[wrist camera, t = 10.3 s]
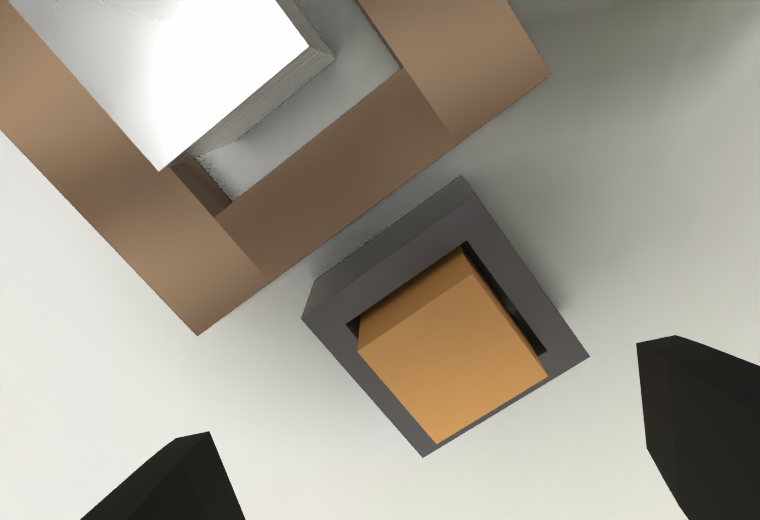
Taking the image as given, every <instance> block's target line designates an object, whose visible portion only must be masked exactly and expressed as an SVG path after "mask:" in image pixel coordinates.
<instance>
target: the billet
mask: <svg viewBox="0 0 760 520" xmlns="http://www.w3.org/2000/svg"><path fill="white" fill-rule="evenodd" d="M8 1H9V2H10V4H11V5H12V6H13V7H14V8H15V9H16V10H17V12H18V13H19V14H20V15H21V16H22V17H23V18H24V19H25V21H26V22H27V23H28V24H29V25H30V26H31V27H32V29H33V30H34V31H35V32H36V33H37V34H38V35H39V36H40V38H41V39H42V40H43V41H44V42H45V43H46V44H47V46H48V47H49V48H50V49H51V50H52V51H53V52H54V53H55V55H56V56H57V57H58V58H59V59H60V60H61V61H62V63H63V64H64V65H65V66H66V67H67V68H68V69H69V70H70V72H71V73H72V74H73V75H74V76H75V77H76V78H77V80H78V81H79V82H80V83H81V84H82V85H83V86H84V87H85V89H86V90H87V91H88V92H89V93H90V94H91V95H92V97H93V98H94V99H95V100H96V101H97V102H98V103H99V105H100V106H101V107H102V108H103V109H104V110H105V111H106V112H107V114H108V115H109V116H110V117H111V118H112V119H113V120H114V122H115V123H116V124H117V125H118V126H119V127H120V128H121V129H122V131H123V132H124V133H125V134H126V135H127V136H128V137H129V139H130V140H131V141H132V142H133V143H134V144H135V145H136V146H137V148H138V149H139V150H140V151H141V152H142V153H143V154H144V156H145V157H146V158H147V159H148V160H149V161H150V162H151V163H152V165H153V166H154V167H155V168H156V169H157V170H158V171H162V170H164V169H167V168H169V167H172V166H174V165H177V164H179V163H182V162H184V161H187V160H189V159H192V158H194V157H197V156H199V155H202V154H204V153H207V152H209V151H212V150H215V149H217V148H220V147H222V146H225V145H227V144H230V143H232V142H235V141H237V140H238V139H239V138H240V137H241V136H243V135H244V134H245V133H246V132H247V131H249V130H250V129H251V128H252V127H254V126H255V125H256V124H257V123H258V122H260V121H261V120H262V119H263V118H265V117H266V116H267V115H268V114H269V113H271V112H272V111H273V110H274V109H275V108H277V107H278V106H279V105H280V104H282V103H283V102H284V101H285V100H286V99H288V98H289V97H290V96H291V95H292V94H294V93H295V92H296V91H297V90H299V89H300V88H301V87H302V86H303V85H305V84H306V83H307V82H308V81H310V80H311V79H312V78H313V77H314V76H316V75H317V74H318V73H319V72H320V71H322V70H323V69H324V68H325V67H327V66H328V65H329V64H330V63H331V62H333V61H334V60H335V59H336V58H335V57H334V55H333V54H332V52H331V51H330V50H329V48H328V47H327V46H326V44H325V43H324V42H323V40H322V39H321V37H320V36H319V35H318V33H317V32H316V31H315V29H314V28H313V26H312V25H311V24H310V22H309V21H308V20H307V18H306V17H305V15H304V14H303V13H302V11H301V10H300V9H299V7H298V6H297V4H296V3H295V2H294V0H8Z"/></svg>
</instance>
